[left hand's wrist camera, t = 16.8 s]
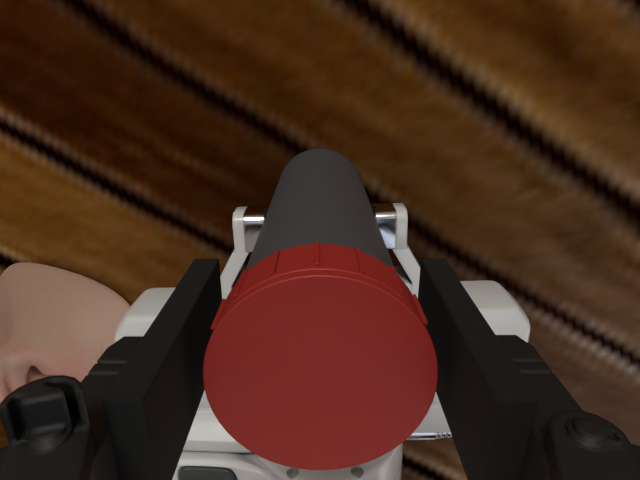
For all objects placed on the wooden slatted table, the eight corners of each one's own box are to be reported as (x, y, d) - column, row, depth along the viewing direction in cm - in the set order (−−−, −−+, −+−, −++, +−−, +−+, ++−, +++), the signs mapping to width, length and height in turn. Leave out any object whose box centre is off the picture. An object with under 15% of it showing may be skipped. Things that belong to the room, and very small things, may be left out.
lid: (460, 361, 13) (483, 410, 11) (293, 447, 14) (289, 504, 12) (354, 199, 11) (360, 224, 9) (175, 311, 12) (149, 354, 10)
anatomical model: (-81, 285, 25) (125, 296, 26) (-30, 258, 29) (150, 268, 29) (-31, 464, 30) (142, 472, 30) (7, 421, 34) (162, 428, 34)
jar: (310, 244, 29) (298, 475, 12) (261, 180, 28) (173, 346, 11) (377, 199, 28) (461, 386, 11) (330, 130, 27) (347, 231, 10)
